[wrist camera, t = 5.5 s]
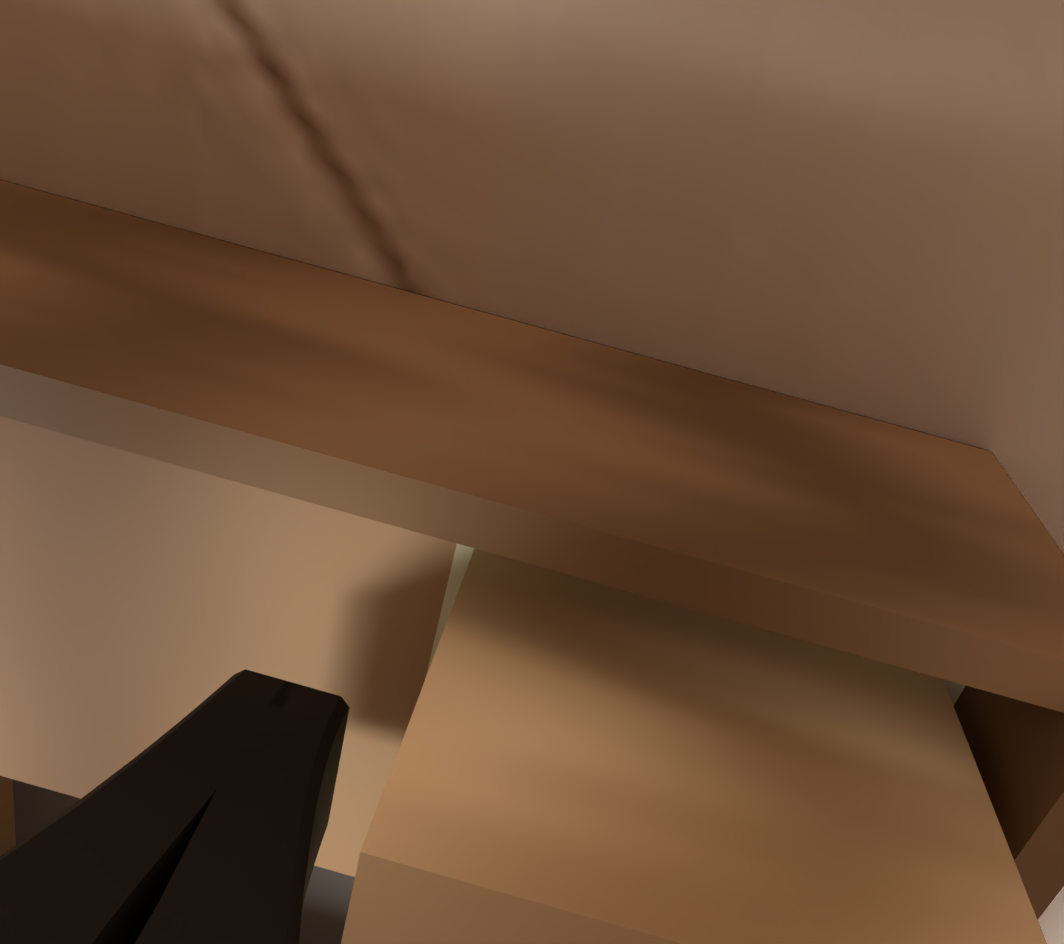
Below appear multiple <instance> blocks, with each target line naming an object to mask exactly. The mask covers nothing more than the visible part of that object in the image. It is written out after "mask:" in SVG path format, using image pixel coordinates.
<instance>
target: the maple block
mask: <svg viewBox="0 0 1064 944" xmlns="http://www.w3.org/2000/svg"><path fill="white" fill-rule="evenodd" d="M341 944H1047V943H1046V941H1045V938H1044V936H1043V933H1042V930H1041V928H1040V925H1039V923H1038V920H1037V918H1036V915H1035V913H1034V910H1033V907H1032V905H1031V902H1030V900H1029V897H1028V895H1027V892H1026V890H1025V887H1024V885H1023V882H1022V879H1021V877H1020V874H1019V872H1018V869H1017V867H1016V864H1015V862H1014V859H1013V856H1012V854H1011V851H1010V849H1009V846H1008V844H1007V841H1006V839H1005V836H1004V834H1003V831H1002V828H1001V826H1000V823H999V821H998V818H997V816H996V813H995V811H994V808H993V805H992V803H991V800H990V798H989V795H988V793H987V790H986V788H985V785H984V783H983V780H982V777H981V775H980V772H979V770H978V767H977V765H976V762H975V760H974V757H973V754H972V752H971V749H970V747H969V744H968V742H967V739H966V737H965V734H964V731H963V729H962V726H961V724H960V721H959V719H958V716H957V714H956V711H955V709H954V706H953V703H952V701H951V698H950V696H949V693H948V691H947V688H946V686H945V683H944V680H943V679H941V678H937V677H934V676H930V675H927V674H923V673H919V672H916V671H912V670H909V669H905V668H902V667H898V666H894V665H891V664H887V663H884V662H880V661H876V660H873V659H869V658H866V657H862V656H859V655H855V654H851V653H848V652H844V651H841V650H837V649H833V648H830V647H826V646H823V645H819V644H815V643H812V642H808V641H805V640H801V639H798V638H794V637H790V636H787V635H783V634H780V633H776V632H772V631H769V630H765V629H762V628H758V627H755V626H751V625H747V624H744V623H740V622H737V621H733V620H729V619H726V618H722V617H719V616H715V615H712V614H708V613H704V612H701V611H697V610H694V609H690V608H686V607H683V606H679V605H676V604H672V603H668V602H665V601H661V600H658V599H654V598H651V597H647V596H643V595H640V594H636V593H633V592H629V591H625V590H622V589H618V588H615V587H611V586H608V585H604V584H600V583H597V582H593V581H590V580H586V579H582V578H579V577H575V576H572V575H568V574H565V573H561V572H557V571H554V570H550V569H547V568H543V567H539V566H536V565H532V564H529V563H525V562H521V561H518V560H514V559H511V558H507V557H504V556H500V555H496V554H493V553H489V552H486V551H482V550H478V549H475V548H474V551H473V553H472V556H471V559H470V561H469V564H468V567H467V569H466V572H465V575H464V577H463V580H462V583H461V585H460V588H459V591H458V593H457V596H456V599H455V601H454V604H453V607H452V609H451V612H450V615H449V617H448V620H447V623H446V625H445V628H444V631H443V633H442V636H441V639H440V641H439V644H438V647H437V649H436V652H435V655H434V657H433V660H432V663H431V665H430V668H429V671H428V673H427V676H426V679H425V681H424V684H423V687H422V689H421V692H420V695H419V697H418V700H417V703H416V705H415V708H414V711H413V713H412V716H411V719H410V721H409V724H408V727H407V729H406V732H405V735H404V737H403V740H402V743H401V745H400V748H399V751H398V753H397V756H396V759H395V761H394V764H393V767H392V769H391V772H390V775H389V777H388V780H387V783H386V785H385V788H384V791H383V793H382V796H381V799H380V801H379V804H378V806H377V809H376V812H375V814H374V817H373V820H372V822H371V825H370V828H369V830H368V833H367V836H366V838H365V841H364V844H363V846H362V849H361V852H360V856H359V861H358V866H357V870H356V875H355V880H354V884H353V889H352V894H351V898H350V903H349V908H348V913H347V917H346V922H345V927H344V931H343V936H342V941H341Z"/></svg>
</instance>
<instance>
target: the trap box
mask: <svg viewBox="0 0 1064 944" xmlns="http://www.w3.org/2000/svg"><path fill="white" fill-rule="evenodd" d="M474 548H475V549H478V550H482V551H486V552H489V553H493V554H496V555H500V556H504V557H507V558H511V559H514V560H518V561H521V562H525V563H529V564H532V565H536V566H539V567H543V568H547V569H550V570H554V571H557V572H561V573H565V574H568V575H572V576H575V577H579V578H582V579H586V580H590V581H593V582H597V583H600V584H604V585H608V586H611V587H615V588H618V589H622V590H625V591H629V592H633V593H636V594H640V595H643V596H647V597H651V598H654V599H658V600H661V601H665V602H668V603H672V604H676V605H679V606H683V607H686V608H690V609H694V610H697V611H701V612H704V613H708V614H712V615H715V616H719V617H722V618H726V619H729V620H733V621H737V622H740V623H744V624H747V625H751V626H755V627H758V628H762V629H765V630H769V631H772V632H776V633H780V634H783V635H787V636H790V637H794V638H798V639H801V640H805V641H808V642H812V643H815V644H819V645H823V646H826V647H830V648H833V649H837V650H841V651H844V652H848V653H851V654H855V655H859V656H862V657H866V658H869V659H873V660H876V661H880V662H884V663H887V664H891V665H894V666H898V667H902V668H905V669H909V670H912V671H916V672H919V673H923V674H927V675H930V676H934V677H937V678H941V679H943V680H944V683H945V686H946V688H947V691H948V693H949V696H950V698H951V701H952V703H953V706H954V709H955V711H956V714H957V716H958V719H959V721H960V724H961V726H962V729H963V731H964V734H965V737H966V739H967V742H968V744H969V747H970V749H971V752H972V754H973V757H974V760H975V762H976V765H977V767H978V770H979V772H980V775H981V777H982V780H983V783H984V785H985V788H986V790H987V793H988V795H989V798H990V800H991V803H992V805H993V808H994V811H995V813H996V816H997V818H998V821H999V823H1000V826H1001V828H1002V831H1003V834H1004V836H1005V839H1006V841H1007V844H1008V846H1009V849H1010V851H1011V854H1012V856H1013V859H1014V862H1015V864H1016V867H1017V869H1018V872H1019V874H1020V877H1021V879H1022V882H1023V885H1024V887H1025V890H1026V892H1027V895H1028V897H1029V900H1030V902H1031V905H1032V907H1033V910H1034V913H1035V915H1036V918H1037V920H1038V919H1039V917H1040V916H1041V915H1042V913H1043V912H1044V911H1045V909H1046V908H1047V907H1048V906H1049V904H1050V903H1051V902H1052V900H1053V899H1054V898H1055V896H1056V895H1057V894H1058V892H1059V891H1060V890H1061V889H1062V887H1063V886H1064V554H1063V552H1062V551H1061V549H1060V548H1059V547H1058V545H1057V544H1056V542H1055V541H1054V539H1053V538H1052V537H1051V535H1050V534H1049V532H1048V531H1047V529H1046V528H1045V527H1044V525H1043V524H1042V522H1041V521H1040V519H1039V518H1038V517H1037V515H1036V514H1035V512H1034V511H1033V509H1032V508H1031V507H1030V505H1029V504H1028V502H1027V501H1026V500H1025V498H1024V497H1023V495H1022V494H1021V492H1020V491H1019V490H1018V488H1017V487H1016V485H1015V484H1014V482H1013V481H1012V480H1011V478H1010V477H1009V475H1008V474H1007V472H1006V471H1005V470H1004V468H1003V467H1002V465H1001V464H1000V462H999V461H998V460H997V458H996V457H995V455H994V454H993V452H991V451H987V450H984V449H980V448H976V447H973V446H969V445H966V444H962V443H958V442H955V441H951V440H947V439H944V438H940V437H936V436H933V435H929V434H925V433H922V432H918V431H914V430H911V429H907V428H904V427H900V426H896V425H893V424H889V423H885V422H882V421H878V420H874V419H871V418H867V417H863V416H860V415H856V414H852V413H849V412H845V411H842V410H838V409H834V408H831V407H827V406H823V405H820V404H816V403H812V402H809V401H805V400H801V399H798V398H794V397H790V396H787V395H783V394H779V393H776V392H772V391H769V390H765V389H761V388H758V387H754V386H750V385H747V384H743V383H739V382H736V381H732V380H728V379H725V378H721V377H717V376H714V375H710V374H707V373H703V372H699V371H696V370H692V369H688V368H685V367H681V366H677V365H674V364H670V363H666V362H663V361H659V360H655V359H652V358H648V357H645V356H641V355H637V354H634V353H630V352H626V351H623V350H619V349H615V348H612V347H608V346H604V345H601V344H597V343H593V342H590V341H586V340H583V339H579V338H575V337H572V336H568V335H564V334H561V333H557V332H553V331H550V330H546V329H542V328H539V327H535V326H531V325H528V324H524V323H520V322H517V321H513V320H510V319H506V318H502V317H499V316H495V315H491V314H488V313H484V312H480V311H477V310H473V309H469V308H466V307H462V306H458V305H455V304H451V303H448V302H444V301H440V300H437V299H433V298H429V297H426V296H422V295H418V294H415V293H411V292H407V291H404V290H400V289H396V288H393V287H389V286H386V285H382V284H378V283H375V282H371V281H367V280H364V279H360V278H356V277H353V276H349V275H345V274H342V273H338V272H334V271H331V270H327V269H324V268H320V267H316V266H313V265H309V264H305V263H302V262H298V261H294V260H291V259H287V258H283V257H280V256H276V255H272V254H269V253H265V252H261V251H258V250H254V249H251V248H247V247H243V246H240V245H236V244H232V243H229V242H225V241H221V240H218V239H214V238H210V237H207V236H203V235H199V234H196V233H192V232H189V231H185V230H181V229H178V228H174V227H170V226H167V225H163V224H159V223H156V222H152V221H148V220H145V219H141V218H137V217H134V216H130V215H127V214H123V213H119V212H116V211H112V210H108V209H105V208H101V207H97V206H94V205H90V204H86V203H83V202H79V201H75V200H72V199H68V198H65V197H61V196H57V195H54V194H50V193H46V192H43V191H39V190H35V189H32V188H28V187H24V186H21V185H17V184H13V183H10V182H6V181H3V180H0V856H1V855H2V854H4V853H5V852H7V851H8V850H9V849H11V848H12V847H14V846H15V845H17V844H18V843H19V842H21V841H22V840H24V839H25V838H27V837H28V836H30V835H31V834H32V833H34V832H35V831H37V830H38V829H40V828H41V827H43V826H44V825H45V824H47V823H48V822H50V821H51V820H53V819H54V818H56V817H57V816H58V815H60V814H61V813H62V812H64V811H65V810H67V809H68V808H69V807H71V806H72V805H73V804H75V803H76V802H77V801H79V800H80V799H81V798H83V797H84V796H85V795H87V794H88V793H89V792H91V791H92V790H93V789H95V788H96V787H97V786H98V785H100V784H101V783H102V782H104V781H105V780H106V779H108V778H109V777H110V776H112V775H113V774H114V773H115V772H117V771H118V770H119V769H121V768H122V767H123V766H125V765H126V764H127V763H129V762H130V761H131V760H133V759H134V758H135V757H136V756H138V755H139V754H140V753H142V752H143V751H144V750H145V749H146V748H148V747H149V746H150V745H151V744H153V743H154V742H155V741H156V740H158V739H159V738H160V737H161V736H163V735H164V734H165V733H166V732H167V731H169V730H170V729H171V728H172V727H174V726H175V725H176V724H177V723H178V722H180V721H181V720H182V719H183V718H184V717H186V716H187V715H188V714H189V713H190V712H192V711H193V710H194V709H195V708H196V707H197V706H199V705H200V704H201V703H202V702H203V701H204V700H206V699H207V698H208V697H209V696H210V695H211V694H213V693H214V692H215V691H216V690H217V689H218V688H219V687H221V686H222V685H223V684H224V683H225V682H226V681H227V680H228V679H230V678H231V677H232V676H233V675H234V674H236V673H238V672H240V671H243V670H245V669H246V670H250V671H253V672H257V673H261V674H264V675H268V676H271V677H275V678H278V679H282V680H285V681H289V682H292V683H296V684H300V685H303V686H307V687H310V688H314V689H317V690H321V691H324V692H328V693H331V694H335V695H338V696H341V697H342V698H343V699H344V701H345V702H346V703H347V705H348V706H349V707H350V708H349V713H348V719H347V724H346V730H345V735H344V740H343V746H342V751H341V757H340V762H339V767H338V773H337V778H336V784H335V789H334V794H333V800H332V805H331V811H330V816H329V821H328V825H327V828H326V831H325V834H324V837H323V840H322V843H321V846H320V849H319V852H318V855H317V857H316V861H315V864H314V867H313V871H312V874H311V878H310V881H309V885H308V888H307V892H306V895H305V899H304V903H303V907H302V915H301V926H300V939H299V944H341V941H342V936H343V931H344V927H345V922H346V917H347V913H348V908H349V903H350V898H351V894H352V889H353V884H354V880H355V875H356V870H357V866H358V861H359V856H360V852H361V849H362V846H363V844H364V841H365V838H366V836H367V833H368V830H369V828H370V825H371V822H372V820H373V817H374V814H375V812H376V809H377V806H378V804H379V801H380V799H381V796H382V793H383V791H384V788H385V785H386V783H387V780H388V777H389V775H390V772H391V769H392V767H393V764H394V761H395V759H396V756H397V753H398V751H399V748H400V745H401V743H402V740H403V737H404V735H405V732H406V729H407V727H408V724H409V721H410V719H411V716H412V713H413V711H414V708H415V705H416V703H417V700H418V697H419V695H420V692H421V689H422V687H423V684H424V681H425V679H426V676H427V673H428V671H429V668H430V665H431V663H432V660H433V657H434V655H435V652H436V649H437V647H438V644H439V641H440V639H441V636H442V633H443V631H444V628H445V625H446V623H447V620H448V617H449V615H450V612H451V609H452V607H453V604H454V601H455V599H456V596H457V593H458V591H459V588H460V585H461V583H462V580H463V577H464V575H465V572H466V569H467V567H468V564H469V561H470V559H471V556H472V553H473V551H474Z"/></svg>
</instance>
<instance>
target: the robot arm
mask: <svg viewBox="0 0 1064 944" xmlns="http://www.w3.org/2000/svg"><path fill="white" fill-rule="evenodd" d="M349 708H350V707H349V706H348V705H347V703H346V702H345V701H344V699H343V698H342V697H341V696H338V695H335V694H331V693H328V692H324V691H321V690H317V689H314V688H310V687H307V686H303V685H300V684H296V683H292V682H289V681H285V680H282V679H278V678H275V677H271V676H268V675H264V674H261V673H257V672H253V671H250V670H246V669H245V670H243V671H240V672H238V673H236V674H234V675H233V676H232V677H231V678H230V679H228V680H227V681H226V682H225V683H224V684H223V685H222V686H221V687H219V688H218V689H217V690H216V691H215V692H214V693H213V694H211V695H210V696H209V697H208V698H207V699H206V700H204V701H203V702H202V703H201V704H200V705H199V706H197V707H196V708H195V709H194V710H193V711H192V712H190V713H189V714H188V715H187V716H186V717H184V718H183V719H182V720H181V721H180V722H178V723H177V724H176V725H175V726H174V727H172V728H171V729H170V730H169V731H167V732H166V733H165V734H164V735H163V736H161V737H160V738H159V739H158V740H156V741H155V742H154V743H153V744H151V745H150V746H149V747H148V748H146V749H145V750H144V751H143V752H142V753H140V754H139V755H138V756H136V757H135V758H134V759H133V760H131V761H130V762H129V763H127V764H126V765H125V766H123V767H122V768H121V769H119V770H118V771H117V772H115V773H114V774H113V775H112V776H110V777H109V778H108V779H106V780H105V781H104V782H102V783H101V784H100V785H98V786H97V787H96V788H95V789H93V790H92V791H91V792H89V793H88V794H87V795H85V796H84V797H83V798H81V799H80V800H79V801H77V802H76V803H75V804H73V805H72V806H71V807H69V808H68V809H67V810H65V811H64V812H62V813H61V814H60V815H58V816H57V817H56V818H54V819H53V820H51V821H50V822H48V823H47V824H45V825H44V826H43V827H41V828H40V829H38V830H37V831H35V832H34V833H32V834H31V835H30V836H28V837H27V838H25V839H24V840H22V841H21V842H19V843H18V844H17V845H15V846H14V847H12V848H11V849H9V850H8V851H7V852H5V853H4V854H2V855H1V856H0V944H299V939H300V926H301V915H302V907H303V903H304V899H305V895H306V892H307V888H308V885H309V881H310V878H311V874H312V871H313V867H314V864H315V861H316V857H317V855H318V852H319V849H320V846H321V843H322V840H323V837H324V834H325V831H326V828H327V825H328V821H329V816H330V811H331V805H332V800H333V794H334V789H335V784H336V778H337V773H338V767H339V762H340V757H341V751H342V746H343V740H344V735H345V730H346V724H347V719H348V713H349Z"/></svg>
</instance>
